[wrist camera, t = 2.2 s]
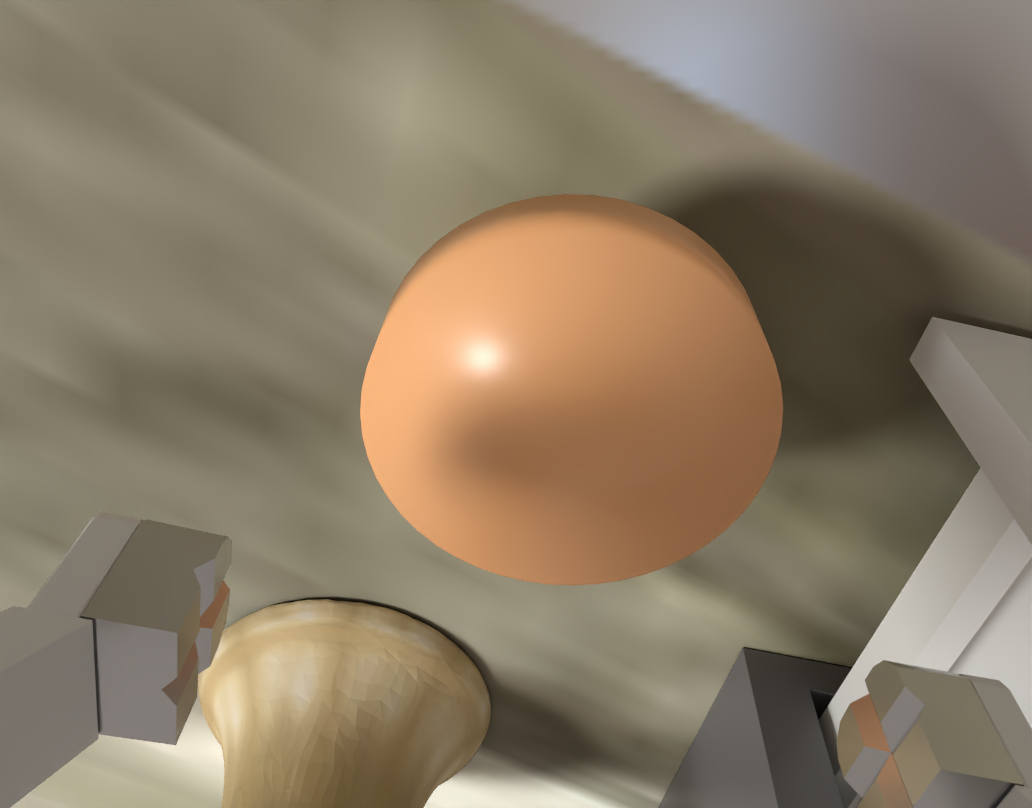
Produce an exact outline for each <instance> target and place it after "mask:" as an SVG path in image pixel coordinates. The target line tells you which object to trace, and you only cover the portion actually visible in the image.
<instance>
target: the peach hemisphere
mask: <svg viewBox="0 0 1032 808" xmlns="http://www.w3.org/2000/svg"><path fill="white" fill-rule="evenodd" d="M360 416H361V426H362V436H363V440H364V444H365V448H366V452H367V456H368V459H369V461H370V464H371V466H372V468H373V471H374V473H375V476H376V478H377V480H378V481H379V483H380V485H381V486H382V488H383V490H384V492H385V493H386V495H387V497H388V498H389V499H390V501H391V502H392V503H393V504H394V506H395V507H396V508H397V509H398V511H399V512H400V513H401V514H402V516H403V517H404V518H405V519H406V520H407V521H409V522H410V523H411V524H412V525H413V526H414V527H415V528H416V529H417V530H418V531H419V532H420V533H421V534H423V535H424V536H425V537H427V538H428V539H429V540H430V541H432V542H433V543H434V544H436V545H437V546H439V547H440V548H442V549H444V550H445V551H447V552H449V553H450V554H452V555H454V556H455V557H457V558H459V559H461V560H463V561H465V562H468V563H470V564H472V565H474V566H476V567H478V568H481V569H484V570H487V571H490V572H493V573H496V574H498V575H502V576H506V577H510V578H514V579H518V580H522V581H528V582H536V583H543V584H554V585H587V584H600V583H607V582H614V581H620V580H624V579H628V578H632V577H636V576H640V575H644V574H647V573H650V572H653V571H655V570H658V569H661V568H664V567H667V566H669V565H671V564H673V563H675V562H677V561H679V560H681V559H683V558H685V557H687V556H689V555H691V554H692V553H694V552H696V551H697V550H699V549H700V548H702V547H704V546H705V545H707V544H708V543H710V542H711V541H712V540H713V539H715V538H716V537H717V536H719V535H720V534H721V533H722V532H724V531H725V530H726V529H727V528H728V527H729V526H730V525H731V524H732V523H733V522H734V521H735V520H736V519H737V518H738V517H739V516H740V515H741V514H742V513H743V512H744V511H745V509H746V508H747V507H748V505H749V504H750V503H751V501H752V500H753V499H754V498H755V496H756V495H757V493H758V492H759V490H760V488H761V486H762V485H763V483H764V481H765V479H766V478H767V476H768V474H769V471H770V469H771V466H772V464H773V461H774V459H775V456H776V453H777V450H778V445H779V441H780V436H781V431H782V419H783V400H782V390H781V382H780V378H779V375H778V371H777V367H776V364H775V360H774V357H773V355H772V353H771V350H770V348H769V345H768V343H767V340H766V338H765V335H764V333H763V330H762V328H761V325H760V323H759V320H758V318H757V315H756V313H755V311H754V308H753V306H752V304H751V302H750V299H749V297H748V295H747V293H746V291H745V288H744V287H743V285H742V284H741V282H740V281H739V279H738V278H737V276H736V274H735V273H734V271H733V270H732V268H731V267H730V266H729V265H728V264H727V263H726V261H725V260H724V259H723V258H722V257H721V256H720V255H719V254H718V253H717V251H716V250H715V249H714V248H713V247H711V246H710V245H709V244H708V243H707V242H705V241H704V240H703V239H702V238H701V237H699V236H698V235H697V234H696V233H695V232H693V231H691V230H690V229H688V228H686V227H685V226H683V225H682V224H680V223H678V222H677V221H675V220H674V219H672V218H670V217H667V216H665V215H663V214H661V213H658V212H656V211H654V210H652V209H650V208H647V207H644V206H640V205H637V204H634V203H630V202H627V201H624V200H620V199H613V198H607V197H601V196H595V195H570V194H563V195H553V196H542V197H535V198H530V199H526V200H521V201H517V202H513V203H509V204H506V205H503V206H500V207H498V208H495V209H492V210H490V211H487V212H484V213H482V214H480V215H478V216H476V217H474V218H473V219H471V220H469V221H467V222H465V223H463V224H461V225H459V226H458V227H457V228H455V229H454V230H452V231H451V232H450V233H448V234H447V235H445V236H444V237H442V238H441V239H440V240H438V241H437V242H436V243H435V244H434V245H433V246H432V247H431V248H430V249H429V250H428V251H427V252H426V253H425V254H424V255H422V256H421V257H420V259H419V260H418V261H417V262H416V264H415V265H414V266H413V267H412V269H411V270H410V271H409V272H408V274H407V275H406V276H405V278H404V280H403V281H402V283H401V285H400V287H399V288H398V290H397V292H396V293H395V295H394V297H393V300H392V302H391V305H390V307H389V310H388V312H387V315H386V317H385V320H384V323H383V325H382V328H381V331H380V333H379V336H378V339H377V341H376V344H375V347H374V350H373V352H372V355H371V358H370V360H369V363H368V366H367V369H366V373H365V378H364V382H363V387H362V393H361V410H360Z"/></svg>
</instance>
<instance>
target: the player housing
mask: <svg viewBox="0 0 1032 808" xmlns="http://www.w3.org/2000/svg"><path fill="white" fill-rule="evenodd" d="M851 669H852V668H848V667H842V666H837V665H832V664H826V663H821V662H816V661H810V660H805V659H800V658H794V657H789V656H784V655H778V654H773V653H768V652H762V651H757V650H752V649H746V648H742V650H741V652H740V654H739V656H738V658H737V660H736V662H735V664H734V666H733V667H732V669H731V671H730V673H729V675H728V677H727V679H726V681H725V683H724V684H723V686H722V688H721V690H720V692H719V694H718V696H717V698H716V700H715V702H714V703H713V705H712V707H711V709H710V711H709V713H708V715H707V717H706V719H705V721H704V722H703V724H702V726H701V728H700V730H699V732H698V734H697V736H696V738H695V739H694V741H693V743H692V745H691V747H690V749H689V751H688V753H687V755H686V757H685V758H684V760H683V762H682V764H681V766H680V768H679V770H678V772H677V774H676V775H675V777H674V779H673V781H672V783H671V785H670V787H669V789H668V791H667V793H666V794H665V796H664V798H663V800H662V802H661V804H660V806H659V808H844V807H843V804H842V800H841V797H840V793H839V790H838V786H837V783H836V779H835V776H834V772H833V769H832V766H831V762H830V759H829V755H828V752H827V748H826V745H825V741H824V738H823V734H822V731H821V728H820V724H819V719H820V718H821V716H822V714H823V713H824V711H825V710H826V708H827V707H828V705H829V703H830V702H831V700H832V699H833V697H834V696H835V694H836V693H837V691H838V689H839V688H840V686H841V685H842V683H843V682H844V680H845V679H846V677H847V675H848V674H849V672H850V671H851Z"/></svg>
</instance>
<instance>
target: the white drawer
mask: <svg viewBox="0 0 1032 808" xmlns="http://www.w3.org/2000/svg"><path fill="white" fill-rule="evenodd" d="M909 361H910V362H911V364H912V365H913V367H914V368H915V370H916V371H917V373H918V374H919V376H920V377H921V379H922V380H923V382H924V383H925V385H926V386H927V388H928V389H929V391H930V392H931V394H932V395H933V397H934V398H935V400H936V401H937V403H938V404H939V406H940V407H941V409H942V410H943V412H944V413H945V415H946V416H947V418H948V419H949V421H950V422H951V424H952V425H953V427H954V428H955V430H956V431H957V433H958V434H959V436H960V437H961V439H962V440H963V442H964V443H965V445H966V446H967V448H968V449H969V451H970V453H971V454H972V456H973V457H974V459H975V460H976V462H977V463H978V465H979V466H980V469H979V471H978V473H977V474H976V476H975V477H974V479H973V480H972V482H971V483H970V485H969V487H968V488H967V490H966V491H965V493H964V494H963V496H962V498H961V499H960V501H959V502H958V504H957V505H956V507H955V508H954V510H953V512H952V513H951V515H950V516H949V518H948V519H947V521H946V522H945V524H944V526H943V527H942V529H941V530H940V532H939V533H938V535H937V537H936V538H935V540H934V541H933V543H932V544H931V546H930V547H929V549H928V551H927V552H926V554H925V555H924V557H923V558H922V560H921V561H920V563H919V565H918V566H917V568H916V569H915V571H914V572H913V574H912V576H911V577H910V579H909V580H908V582H907V583H906V585H905V586H904V588H903V590H902V591H901V593H900V594H899V596H898V597H897V599H896V601H895V602H894V604H893V605H892V607H891V608H890V610H889V611H888V613H887V615H886V616H885V618H884V619H883V621H882V622H881V624H880V625H879V627H878V629H877V630H876V632H875V633H874V635H873V636H872V638H871V640H870V641H869V643H868V644H867V646H866V647H865V649H864V650H863V652H862V654H861V655H860V657H859V658H858V660H857V661H856V663H855V664H854V666H853V668H852V669H851V671H850V672H849V674H848V675H847V677H846V679H845V680H844V682H843V683H842V685H841V686H840V688H839V689H838V691H837V693H836V694H835V696H834V697H833V699H832V700H831V702H830V703H829V705H828V707H827V708H826V710H825V711H824V713H823V714H822V716H821V718H820V719H819V724H820V728H821V731H822V734H823V738H824V741H825V745H826V748H827V752H828V755H829V759H830V762H831V766H832V769H833V772H834V776H835V779H836V783H837V786H838V790H839V793H840V797H841V800H842V804H843V807H844V808H856V807H857V804H858V802H859V800H860V798H861V797H860V795H859V794H858V793H857V792H856V791H855V790H854V789H853V788H852V787H851V786H850V785H849V784H848V782H847V781H846V780H845V779H844V777H843V774H842V771H841V767H840V764H839V761H838V751H837V737H838V731H839V725H840V721H841V719H842V717H843V715H844V713H845V712H846V710H847V708H848V706H849V704H850V703H852V702H854V701H856V700H858V699H860V698H861V697H863V696H865V695H867V694H869V692H868V689H867V686H866V682H865V679H866V677H867V676H868V674H869V673H870V671H871V670H872V668H873V666H875V665H877V664H878V663H880V662H881V661H883V660H886V661H891V662H897V663H902V664H908V665H914V666H919V667H925V668H930V669H936V670H941V671H947V672H953V673H956V674H966V675H972V676H977V677H983V678H989V679H995V680H999V681H1000V682H1002V683H1003V684H1004V685H1005V686H1006V687H1007V688H1008V689H1009V690H1010V691H1011V693H1012V695H1013V696H1014V698H1015V700H1016V702H1017V704H1018V705H1019V707H1020V709H1021V711H1022V713H1023V714H1024V716H1025V718H1026V720H1027V721H1028V723H1029V725H1030V727H1031V729H1032V339H1030V338H1025V337H1021V336H1016V335H1012V334H1007V333H1003V332H999V331H994V330H990V329H985V328H981V327H976V326H972V325H967V324H963V323H958V322H954V321H949V320H945V319H940V318H936V317H932V318H931V320H930V322H929V324H928V326H927V328H926V330H925V331H924V333H923V335H922V337H921V339H920V341H919V343H918V344H917V346H916V348H915V350H914V352H913V354H912V356H911V357H910V359H909Z"/></svg>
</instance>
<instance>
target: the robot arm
mask: <svg viewBox="0 0 1032 808" xmlns="http://www.w3.org/2000/svg"><path fill="white" fill-rule="evenodd" d="M231 560H232V541H231V539H230V538H229V537H226V536H222V535H217V534H212V533H208V532H203V531H198V530H193V529H189V528H184V527H179V526H175V525H170V524H165V523H161V522H156V521H151V520H147V519H146V520H141V519H137V518H132V517H128V516H123V515H119V514H114V513H110V512H105V511H103V512H101V513H100V514H98V515H97V516H95V517H94V518H92V519H91V520H90V522H89V523H88V525H87V526H86V527H85V529H84V530H83V532H82V533H81V534H80V536H79V537H78V538H77V540H76V541H75V543H74V544H73V545H72V547H71V548H70V550H69V551H68V552H67V554H66V555H65V556H64V558H63V559H62V561H61V562H60V563H59V565H58V566H57V567H56V569H55V570H54V572H53V573H52V574H51V576H50V577H49V579H48V580H47V581H46V583H45V584H44V585H43V587H42V588H41V590H40V591H39V592H38V594H37V595H36V597H35V598H34V599H33V601H32V602H31V603H30V605H29V606H28V608H22V607H16V606H13V607H11V608H9V609H7V610H5V611H2V612H0V808H10V807H11V806H12V805H14V804H15V803H16V802H18V801H19V800H20V799H21V798H23V797H24V796H25V795H27V794H28V793H29V792H30V791H32V790H33V789H34V788H36V787H37V786H38V785H40V784H41V783H42V782H43V781H45V780H46V779H47V778H49V777H50V776H51V775H52V774H54V773H55V772H56V771H58V770H59V769H60V768H61V767H63V766H64V765H65V764H67V763H68V762H69V761H70V760H72V759H73V758H74V757H76V756H77V755H78V754H79V753H81V752H82V751H83V750H85V749H86V748H87V747H88V746H90V745H91V744H92V743H94V742H95V741H96V740H97V739H98V734H101V735H108V736H116V737H123V738H130V739H137V740H144V741H151V742H158V743H165V744H172V745H176V743H177V741H178V739H179V736H180V734H181V732H182V730H183V727H184V725H185V723H186V721H187V718H188V716H189V714H190V711H191V709H192V707H193V705H194V702H195V700H196V698H197V684H198V674H199V673H201V672H202V671H204V670H205V669H207V668H209V667H210V666H211V663H212V661H213V658H214V656H215V654H216V651H217V649H218V646H219V643H220V640H221V636H222V633H223V630H224V626H225V623H226V617H227V611H228V606H229V594H230V589H229V588H228V586H227V585H226V584H225V582H224V581H223V579H224V577H225V575H226V573H227V571H228V568H229V566H230V564H231ZM865 682H866V686H867V689H868V692H869V694H867V695H865V696H863V697H861V698H860V699H858V700H856V701H854V702H852V703H850V704H849V706H848V708H847V710H846V712H845V713H844V715H843V717H842V719H841V721H840V725H839V731H838V737H837V751H838V761H839V764H840V767H841V771H842V774H843V777H844V779H845V780H846V781H847V782H848V784H849V785H850V786H851V787H852V788H853V789H854V790H855V791H856V792H857V793H858V794H859V795H860V797H861V798H860V800H859V802H858V804H857V807H856V808H1032V729H1031V727H1030V725H1029V723H1028V721H1027V720H1026V718H1025V716H1024V714H1023V713H1022V711H1021V709H1020V707H1019V705H1018V704H1017V702H1016V700H1015V698H1014V696H1013V695H1012V693H1011V691H1010V690H1009V689H1008V688H1007V687H1006V686H1005V685H1004V684H1003V683H1002V682H1000V681H999V680H995V679H989V678H983V677H977V676H972V675H966V674H956V673H953V672H947V671H941V670H936V669H930V668H925V667H919V666H914V665H908V664H902V663H897V662H891V661H886V660H883V661H881V662H880V663H878V664H877V665H875V666H873V668H872V670H871V671H870V673H869V674H868V676H867V677H866V679H865Z"/></svg>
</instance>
